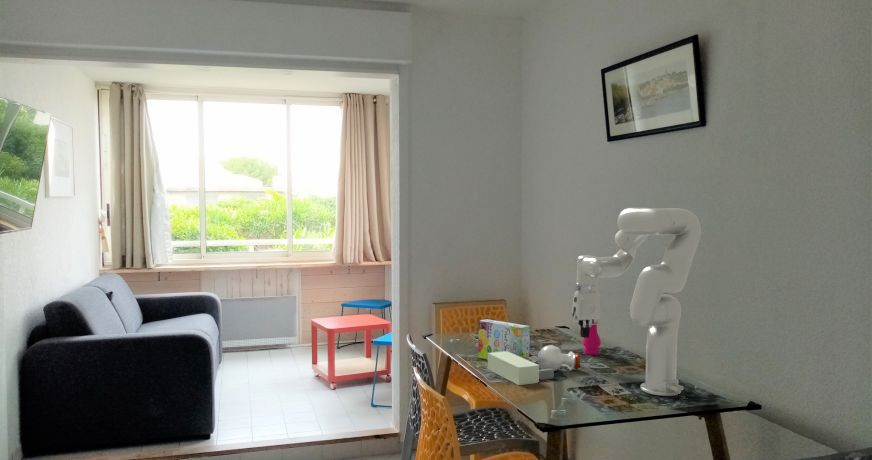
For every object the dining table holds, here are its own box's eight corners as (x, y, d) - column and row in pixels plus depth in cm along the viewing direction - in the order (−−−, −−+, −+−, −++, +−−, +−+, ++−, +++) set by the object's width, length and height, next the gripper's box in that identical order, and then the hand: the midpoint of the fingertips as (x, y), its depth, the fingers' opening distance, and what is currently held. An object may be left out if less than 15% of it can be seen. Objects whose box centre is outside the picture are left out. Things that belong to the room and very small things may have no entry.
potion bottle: (534, 373, 233) (573, 377, 235) (542, 364, 225) (582, 368, 227) (533, 350, 238) (571, 354, 240) (540, 339, 230) (580, 344, 232)
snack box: (530, 365, 241) (530, 325, 240) (521, 367, 236) (522, 327, 236) (486, 355, 255) (486, 318, 254) (477, 358, 251) (477, 320, 250)
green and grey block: (558, 380, 220) (558, 363, 220) (518, 385, 214) (518, 367, 214) (525, 364, 240) (525, 349, 240) (487, 369, 234) (487, 353, 234)
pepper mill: (601, 355, 255) (601, 306, 255) (582, 354, 257) (583, 305, 256) (600, 351, 263) (600, 303, 262) (582, 350, 264) (582, 302, 263)
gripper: (575, 291, 230) (574, 341, 232) (609, 289, 236) (607, 338, 238) (563, 287, 237) (562, 336, 239) (596, 286, 243) (594, 333, 244)
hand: (584, 337), depth 238 cm, fingers closed
